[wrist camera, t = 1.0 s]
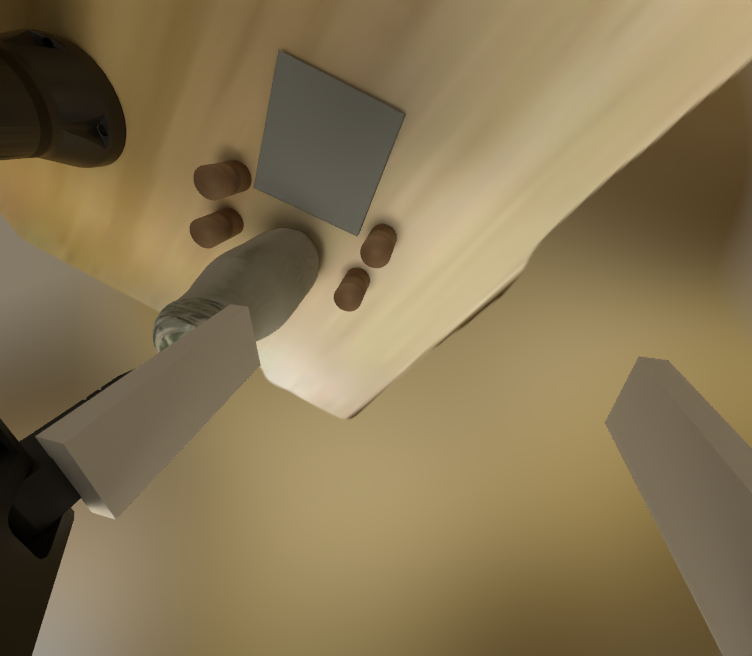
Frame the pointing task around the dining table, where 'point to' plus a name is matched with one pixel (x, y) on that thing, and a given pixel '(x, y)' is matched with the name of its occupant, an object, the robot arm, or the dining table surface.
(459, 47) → the dining table surface
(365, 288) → the cylinder
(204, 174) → the cylinder
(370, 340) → the dining table surface
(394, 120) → the mat
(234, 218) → the cylinder
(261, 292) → the grey ceramic vase
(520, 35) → the dining table surface
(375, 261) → the cylinder
